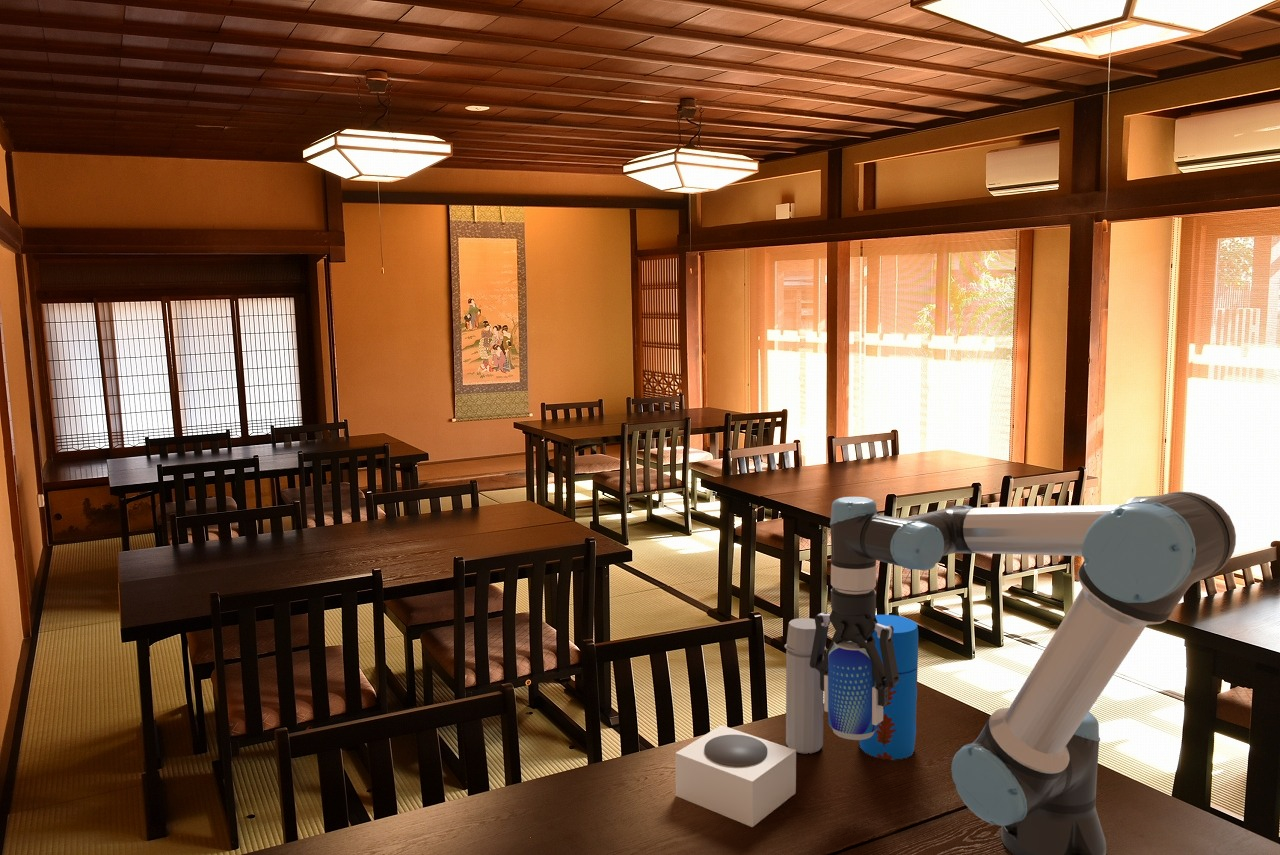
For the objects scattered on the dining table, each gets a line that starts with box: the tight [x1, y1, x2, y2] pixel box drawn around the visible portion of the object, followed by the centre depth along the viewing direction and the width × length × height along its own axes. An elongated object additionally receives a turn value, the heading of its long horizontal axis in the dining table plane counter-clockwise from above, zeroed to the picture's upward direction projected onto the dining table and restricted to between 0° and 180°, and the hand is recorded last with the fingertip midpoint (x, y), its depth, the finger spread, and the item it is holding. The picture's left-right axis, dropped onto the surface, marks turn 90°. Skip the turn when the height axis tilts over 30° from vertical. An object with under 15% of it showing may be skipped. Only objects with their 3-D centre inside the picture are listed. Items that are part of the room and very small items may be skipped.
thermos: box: [858, 614, 919, 761], centre depth 178 cm, size 11×11×25 cm
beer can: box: [828, 640, 878, 741], centre depth 159 cm, size 8×8×16 cm
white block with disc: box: [675, 724, 797, 828], centre depth 162 cm, size 16×14×8 cm
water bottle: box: [784, 617, 827, 755], centre depth 179 cm, size 9×8×25 cm
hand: (853, 715), depth 159 cm, fingers closed on beer can, 8 cm apart
